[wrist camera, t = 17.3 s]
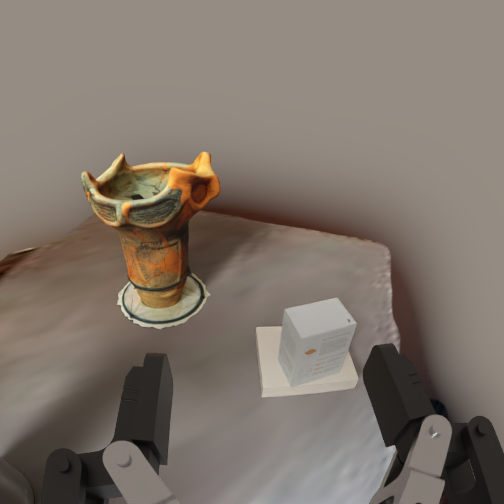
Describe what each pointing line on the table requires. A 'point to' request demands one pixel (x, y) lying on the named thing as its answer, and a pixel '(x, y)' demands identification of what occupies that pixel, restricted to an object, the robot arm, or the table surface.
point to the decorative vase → (155, 233)
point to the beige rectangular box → (275, 378)
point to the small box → (314, 340)
